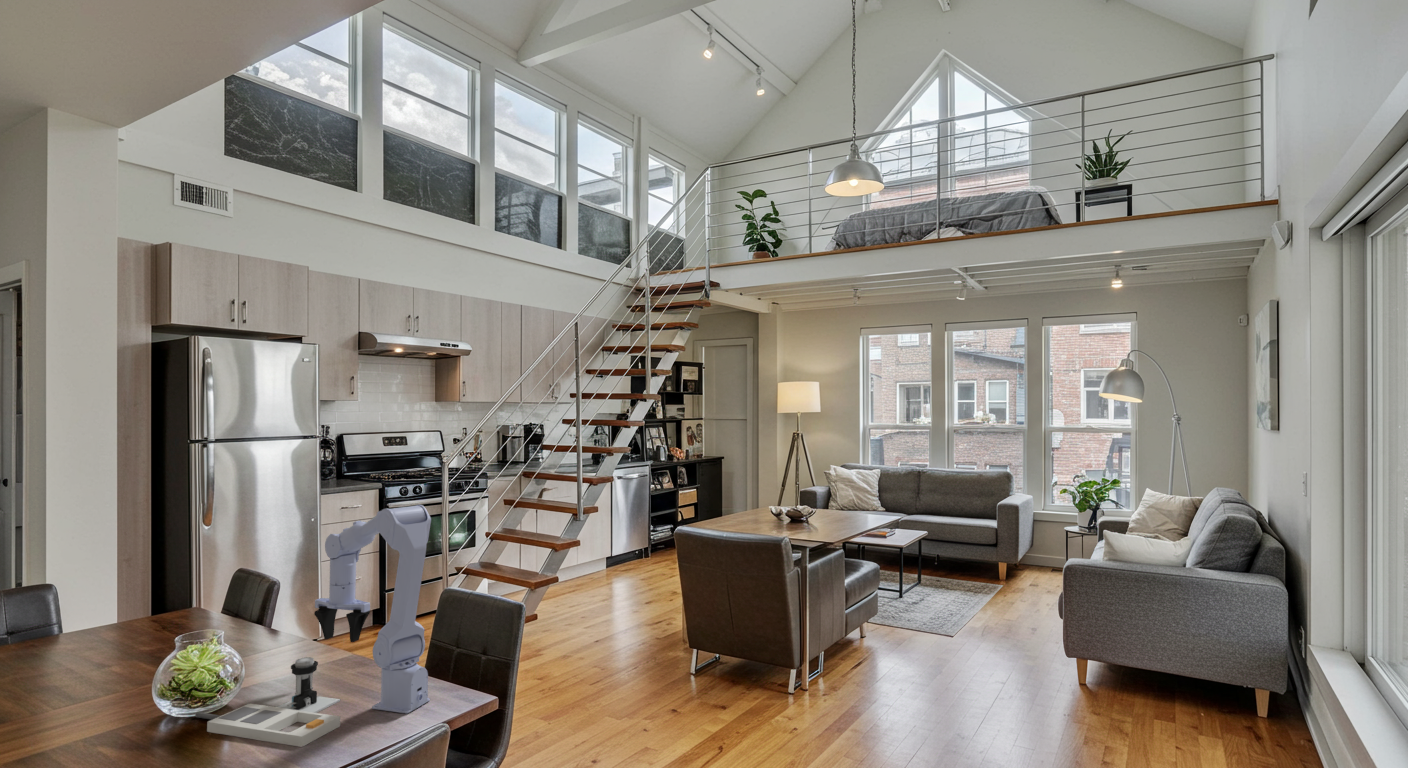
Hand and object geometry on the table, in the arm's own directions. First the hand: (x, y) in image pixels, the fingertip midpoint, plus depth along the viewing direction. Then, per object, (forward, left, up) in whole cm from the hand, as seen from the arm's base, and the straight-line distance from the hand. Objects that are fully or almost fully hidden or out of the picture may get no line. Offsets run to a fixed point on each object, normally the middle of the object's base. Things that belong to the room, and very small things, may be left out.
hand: (341, 639), depth 180 cm
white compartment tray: (-1, +25, -10) cm, 27 cm away
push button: (-3, +15, -10) cm, 18 cm away
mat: (-3, +14, -10) cm, 18 cm away
